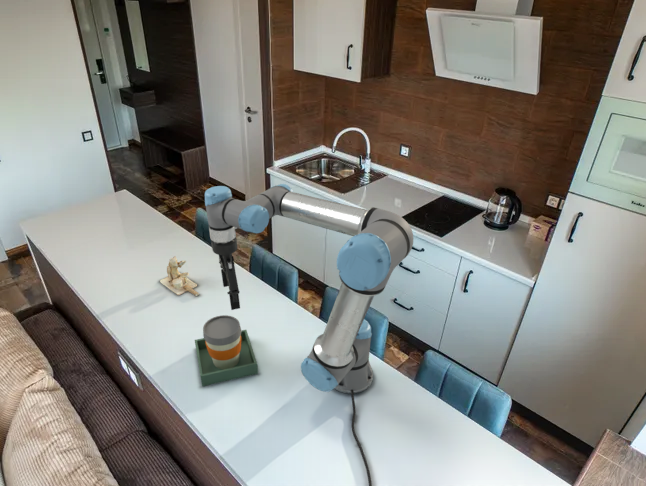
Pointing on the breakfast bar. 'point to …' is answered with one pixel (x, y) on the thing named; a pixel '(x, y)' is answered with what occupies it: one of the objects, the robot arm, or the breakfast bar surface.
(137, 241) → the breakfast bar surface
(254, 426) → the breakfast bar surface
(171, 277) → the wooden toy
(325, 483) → the breakfast bar surface
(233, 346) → the reusable coffee cup
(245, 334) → the green square tray
